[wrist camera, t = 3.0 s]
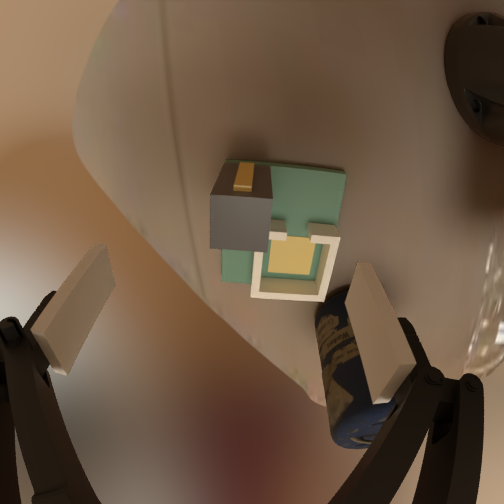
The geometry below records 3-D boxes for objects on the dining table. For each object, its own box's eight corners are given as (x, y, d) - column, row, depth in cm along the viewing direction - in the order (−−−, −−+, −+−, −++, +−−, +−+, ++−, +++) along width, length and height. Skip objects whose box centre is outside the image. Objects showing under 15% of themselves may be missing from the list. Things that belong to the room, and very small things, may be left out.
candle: (330, 275, 33) (366, 421, 18) (397, 289, 34) (452, 413, 19) (302, 332, 38) (315, 462, 23) (364, 341, 39) (394, 457, 24)
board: (226, 159, 27) (224, 162, 26) (343, 170, 27) (346, 174, 26) (223, 275, 34) (221, 281, 33) (320, 281, 34) (321, 288, 33)
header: (256, 218, 28) (256, 230, 26) (334, 225, 29) (340, 237, 26) (251, 282, 32) (250, 297, 30) (320, 286, 33) (323, 301, 30)
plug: (225, 158, 26) (210, 188, 19) (270, 161, 26) (273, 193, 19) (223, 204, 28) (209, 248, 21) (266, 207, 28) (267, 252, 21)
